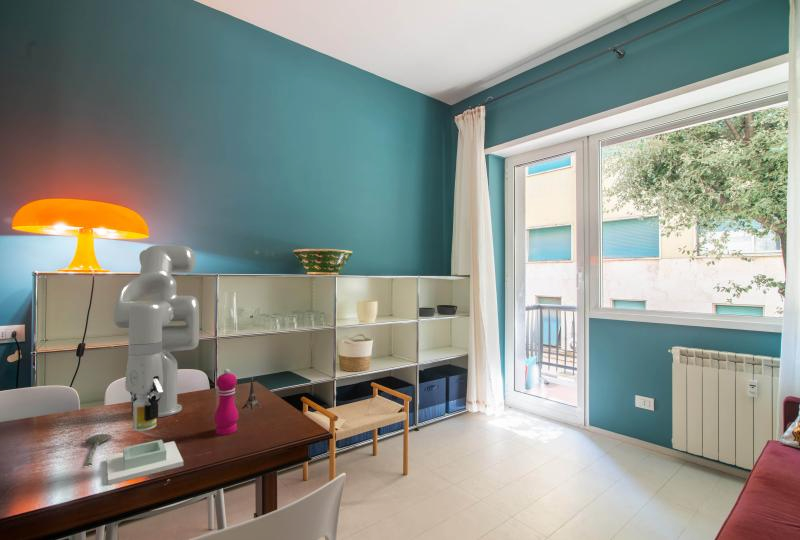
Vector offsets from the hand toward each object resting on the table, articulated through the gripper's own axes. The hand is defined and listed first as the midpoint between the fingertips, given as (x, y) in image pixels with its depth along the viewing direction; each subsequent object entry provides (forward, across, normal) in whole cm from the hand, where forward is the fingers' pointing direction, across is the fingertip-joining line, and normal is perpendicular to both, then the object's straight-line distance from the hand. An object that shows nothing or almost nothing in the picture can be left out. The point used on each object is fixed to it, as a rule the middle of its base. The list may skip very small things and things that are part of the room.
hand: (144, 416), depth 106 cm
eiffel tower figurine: (+13, -12, +44) cm, 48 cm away
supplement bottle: (+3, 0, 0) cm, 3 cm away
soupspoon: (+13, -20, -3) cm, 24 cm away
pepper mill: (+12, 0, +25) cm, 28 cm away
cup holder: (+12, 0, 0) cm, 12 cm away
